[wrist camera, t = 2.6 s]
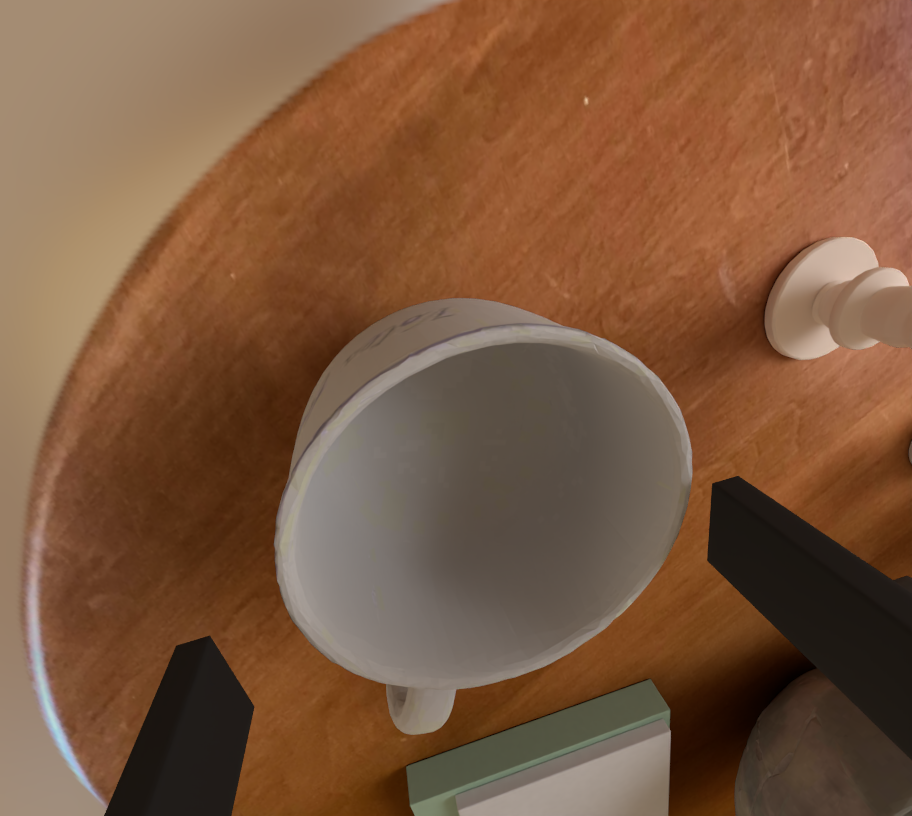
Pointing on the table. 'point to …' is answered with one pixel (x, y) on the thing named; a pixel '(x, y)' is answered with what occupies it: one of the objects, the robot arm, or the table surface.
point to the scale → (558, 764)
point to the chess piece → (910, 452)
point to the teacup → (475, 499)
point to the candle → (837, 302)
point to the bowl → (820, 758)
